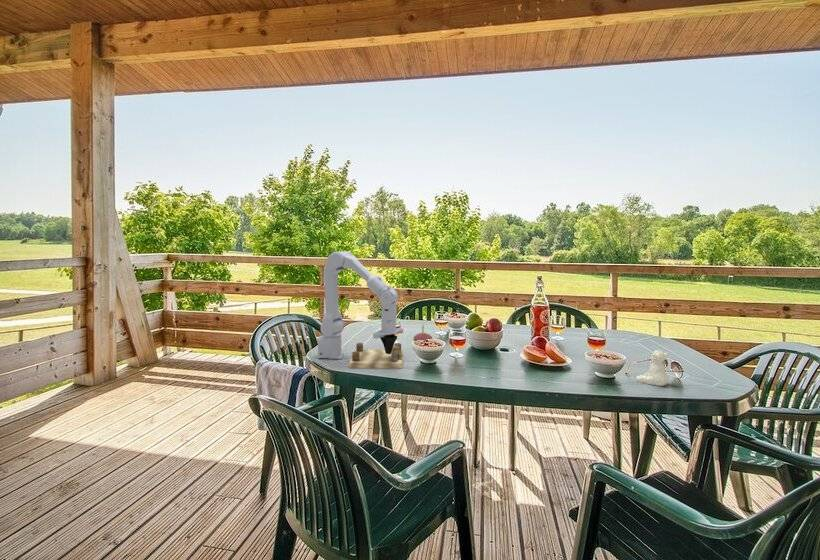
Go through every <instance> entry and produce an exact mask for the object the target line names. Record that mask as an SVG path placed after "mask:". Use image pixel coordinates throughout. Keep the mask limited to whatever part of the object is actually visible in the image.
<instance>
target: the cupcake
mask: <svg viewBox="0 0 820 560" xmlns="http://www.w3.org/2000/svg"><path fill="white" fill-rule="evenodd" d="M424 327H425V326H424V324H422V325H421V328H422V329H421V332H419V333H417V334H415V335H414V336H413V339H412V340H413V341H414V342H415V341H417V340H426V339H432V340H433V336H432V335H431V334H428V333H425V332H424V329H425V328H424Z"/></svg>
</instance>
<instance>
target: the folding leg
mask: <svg viewBox="0 0 820 560" xmlns="http://www.w3.org/2000/svg"><path fill="white" fill-rule="evenodd" d="M398 356H399V346H395V345H393V348H392V353H391V360H392V361H397V360H398Z"/></svg>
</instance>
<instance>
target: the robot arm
mask: <svg viewBox="0 0 820 560" xmlns="http://www.w3.org/2000/svg"><path fill="white" fill-rule="evenodd" d="M343 269H350V270H352V271H353V272H355V273H356V274H357V275H359V276H360V277H361V278H362V279H363V280H364V281H365V282H366V286H367V288H368V289H370V291H371V292H372V293H374V295H376V296H377V297H378V299H379V302H380V304H381V325H380V327H381V330H378V331H376V332H373V334H372V338H373V339H376V340H377V339H380V340H381V342H382V345H383V348H384V350H385V353H386V354H391V352H392V350H393V346H395V343H396V341H397V340H398V335H399V334H404V328H402V327H398V328H397V301H398V300H399V293H398V292H397V290H396V289H395V288H392V287H391V286H390V285H388V284H386V283H385V282H384V280H383V277H381V276H378V275H373V274H372V273H371V272H370V271H369V270H368V269H367V268H366V267H365V266H364V265H363V263H361V262H360V260H358V258H357V256H355V255H353V254H352V253H351V251H348V250H344V251H333V252H332V253H330V254H329V255H328V256H327V262H326V264H325V266H324V269H323V285H324V286H323V287H324V305H325V306H324V308H325V313H324V315H323V317H322V319H321V325H320V332H321V334H322V335H319V336H318V339H317V359H319V358H329V359H328V360H336V359H337V360H340V359H342V357H343V356H344V352H342V331H344V329H345V323H344V320H343V316H342V314H341V313H340V309H339V308H340V307H339V281H338V280H339V279H338V274H339V273H340V272H341V271H342V270H343Z"/></svg>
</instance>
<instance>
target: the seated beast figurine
mask: <svg viewBox="0 0 820 560" xmlns="http://www.w3.org/2000/svg"><path fill="white" fill-rule="evenodd" d="M653 351H654V352H653V353H652V354H651V356H650V358H649V359H650V360H651V364H650V365H649V370H648V373H647V374H644V375H643V374H640V375H637V376H636V378H635V379H636V382H637V383H641V384H647V385H651V386H656V387H664V386H666V385H668V383H669V376H668V373H667V371H666V366H665V364H664V362H665V360H666V358H667V357H668V356H669V353H668V352H664V351H662V350H661V349H655V350H653Z"/></svg>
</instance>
